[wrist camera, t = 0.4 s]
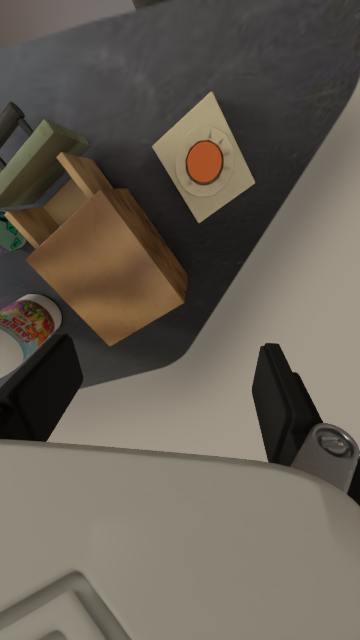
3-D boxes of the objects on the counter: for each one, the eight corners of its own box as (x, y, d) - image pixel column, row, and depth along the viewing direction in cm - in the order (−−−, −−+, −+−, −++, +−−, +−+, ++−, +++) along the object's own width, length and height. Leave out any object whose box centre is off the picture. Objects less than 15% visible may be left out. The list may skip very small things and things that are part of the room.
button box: (155, 149, 29) (148, 143, 25) (211, 97, 26) (212, 83, 22) (198, 221, 32) (198, 225, 29) (252, 183, 30) (258, 182, 26)
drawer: (0, 166, 30) (-58, 160, 24) (55, 96, 26) (5, 65, 20) (95, 275, 37) (71, 295, 30) (152, 233, 33) (138, 245, 26)
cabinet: (66, 242, 35) (24, 259, 27) (127, 188, 31) (100, 188, 23) (128, 314, 41) (109, 346, 32) (188, 276, 36) (184, 302, 28)
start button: (182, 159, 26) (180, 157, 24) (209, 135, 25) (210, 132, 23) (199, 189, 27) (199, 189, 26) (226, 168, 26) (228, 167, 25)
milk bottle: (59, 336, 45) (-32, 431, 27) (19, 320, 43) (-103, 408, 26) (66, 303, 41) (-34, 390, 24) (22, 285, 40) (-116, 361, 22)
